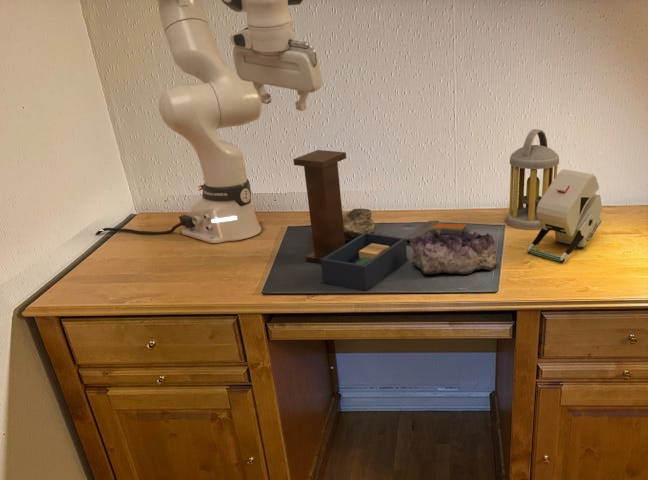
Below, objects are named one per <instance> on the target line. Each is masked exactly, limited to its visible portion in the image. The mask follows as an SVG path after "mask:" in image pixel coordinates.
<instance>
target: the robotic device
mask: <svg viewBox="0 0 648 480" xmlns="http://www.w3.org/2000/svg"><path fill="white" fill-rule="evenodd" d="M599 187H600V186H599V183H598V179H597V177H596V175H595V174H593V173H588V172H583V171H576V170H572V169H561V170H560V171H559V172H557V176H556V177H555V179H554V178H553V181H552V183H551V185H550V186H549V188H548V189H547V191H546V192H545V194H544V195H543V197H542V196H541V197H542V198H541V200H540V201H539V203H538V205H537V210H536V212H537V217H538V219H539V221H540V224H541V226H542V229H539V232H538V233H537V235H536V237H535V238H534V240H533V241H532V242H531V243H530V245H529V246H528V247H527V250H526V251H527V254H530V255H531V254H532V255H535V256H538V257H542V258H545V259H549V260H553V261H555V262H560V263H561V264H565V263H566V262H567V260H568V259H569V258H570V257H571V255H572V253H573V251H574V250H576V248H577V249H579V250H580V249H581V250H584V249H585V248H586V247H587V245H588V243H589V241H590V240H591V238H592V237H593V235H594V233H596V230H597V229H598V227H599V226H600V225H601V223H602V219H601V213H602V212H603V211H602V210H603V205H602V199H601V195H600V194H596V193H597V192H598V190H599ZM550 231H553V232H554V241H555V242H556V243H557V244H561V245H566V246H568V247H567V248H566V250H565V251H564V253H562V255H561V256H559V255H555V254H551V253H548V252H545V251H541V250H537V248H538V246H539V244H540V243H541V242H542V240H543V239H544V238H545V237H546V236H547V234H548V233H549V232H550Z"/></svg>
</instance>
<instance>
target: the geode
mask: <svg viewBox="0 0 648 480" xmlns="http://www.w3.org/2000/svg"><path fill="white" fill-rule="evenodd" d="M410 247H411V248H412V250H413V253H412V260H411V264H412V265H414V266H415V267H417V268H418V269H420V271H421V273H422V274H424V275H434V274H442V273H445V274H450V275H451V274H454V275H455V274H457V275H469V274H471V273H473V272H474V271H479V270H486V271H493V270H494V269H496V266H497V260H496V254H497V250H496V246H495V239H494V237H493V235H491V234H490V233H488V232H487V233H486V234H483V235H482V234H480V233H478V232H476V231H474V232H473V234H472V233H470V232H467V230H466V231H462V233H461V235H459V234H458V232H456V233H453V234H451V235H449V234H435V235H430V234H426V235H424V236H423V238H421V237H415V238H412V240H411V245H410Z"/></svg>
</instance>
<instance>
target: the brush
mask: <svg viewBox="0 0 648 480" xmlns="http://www.w3.org/2000/svg"><path fill="white" fill-rule="evenodd" d="M388 248H389V246H386V245H380V244H373V243H371V244H370V245H368V246H366V247H365V248H363V249H362V250H360V251H359V259H361V260H359V261H358V262H356V263H355V264H360V265H364V264H366V263H367V262H369V261H370V260H372V259H373V258H375V257H376V256H378V255H379V254H380V253H382V252H383V251H385V250H386V249H388Z"/></svg>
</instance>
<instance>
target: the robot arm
mask: <svg viewBox="0 0 648 480" xmlns="http://www.w3.org/2000/svg"><path fill="white" fill-rule="evenodd" d="M221 1H222V3H223V4H224V5H225V6H226V7H228V8H229V9H230V10H232V11H234V12H236V13H246V25H247V27H244V28H243V29H241V30H238V31H236V32H234V33H232V34H231V35H230V39H229V40H230V43H231V45H232V46H234V47H233V49H232V56H233V57H232V58H233V63H234V69H235V71H234V70H233V69H232V67H230V66H229V65H228V64H227V62H226V61H225V60H224V58H223V56H222V55H221V53H220V51H219V49H218V46H217V43H216V41H215V37H214V36H213V33H212V30H211V27H210V24H209V21H208V18H207V16H206V15H207V14H206V13H205V11H204V8H203V4H202V0H157V3H158V11H159V17H160V20H161V21H160V22H161V25H162V28H163V31H164V35H165V38H166V41H167V43H168V47H169V49H170V53H171V56H172V59H173V62H174V64H175V65H176V66H177V67H178V68H179V70H180V71H182V72H184V73H185V74H187V75H190V76H192V77H195V78H196V79H198V80H199V81H200V82H202V83H193V84H182V85H178V86H175V87H172V88H169V89H166V90H164V91H162V93H161V95H160V96H159V97H160V98H159V101H158V111H159V114H160V117H161V119H162V120H163V122H164V124H165V125H166V126H167V127H168V128H169V129H171V131H173V132H175V133H177V134H178V135H180V136H181V137H183V138H184V139H185V140H186V141H187V142H188V143H189V144H190V146H191V147H192V148H193V149H194V152H195V153H196V155H197V157H198V161H199V164H200V168H201V172H202V176H203V181H204V183H203V184H201V185H198V186H197V188H198V191H199V192H200V191H202V193H201V198H199V200H198V201H197V202H196V203H195V204H194V205H193V206H192V207H191V208H190V209H189V210H188V213H187V215H186V214H183V215H180V216H178V219H179V223H177V224H175V225H173V226H172V227H171V229H169V230H168V229H167V230H163V231H152V230H136V229H131V228H116V227H103V228H104V229H103V228H102V229H103V230H104V231H99V230H97V231H96V233H95V234H94V235H95V236H99V235H100V234H101V233H104V232H109V231H110V232H124V233H125V232H126V233H133V234H139V235H168V234H171V233H173V232H175V230H176V229H177V228H180V227H181V226H183V228H182V229H181V231H180V232H181V234H182V235H184V236H187V237H190V238H193V239H197V240H200V241H203V242H206V243H210V244H219V243H224V242H234V241H241V240H246V239H249V238H253V237H255V236H257V235H258V234H260V233H261V232H262V227H261V225H260V221H259V219H258V217H257V214H256V210H255V206H254V203H253V200H252V190H251V183H250V180H249V179H248V176H247V171H246V164H245V163H246V162H245V157H244V153H243V151H242V150H241V149H240V148H239V147H238V146H237V145H235V144H233V143H231V142H229V141H226V140H223V139H220V138H219V136H218V134H217V130H218V129H226V128H232V127H240V126H244V125H247V124H250V123H252V122H255V121H258V120H259V119H260V117H261V116H262V112H263V109H264V104H265V105H269V104H271V103H272V96H271V93H269V92H268V91H267V90H266V87H265V85H267V86H271V87H272V86H273V87H278V88H283V89H289V90H294V91H296V93H297V95H298V96H299V98H298V100H297V101H295V104H294V105H295V110H296V111H300V112H304V111H306V110H307V108H308V107H307V100H308V97H309V94H311V93H312V94H313V93H315V92H317V91H318V90H320V89H321V87H322V86H323V75H322V72H321V68H320V63H319V61H318V55H317V50H316V49H315V48H314V46H312V45H311V44H310V43H309V42H306V41H299V40H296V37H295V31H294V25H293V18H292V14H291V12H290V10H289V6H299V5H301V4H302V3H303V1H304V0H221Z"/></svg>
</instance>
